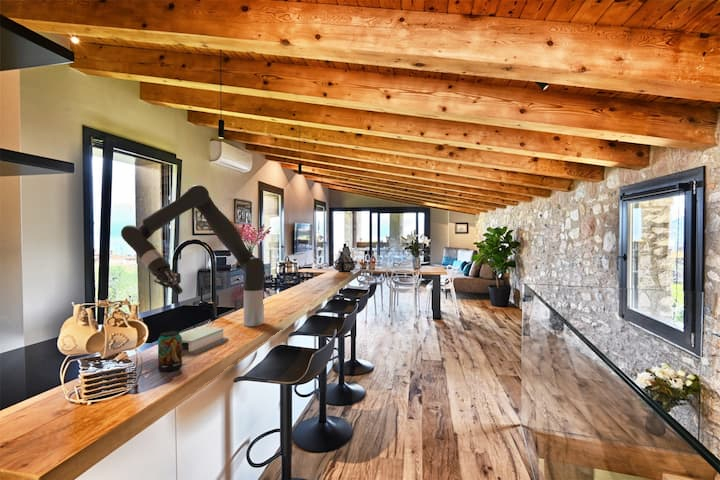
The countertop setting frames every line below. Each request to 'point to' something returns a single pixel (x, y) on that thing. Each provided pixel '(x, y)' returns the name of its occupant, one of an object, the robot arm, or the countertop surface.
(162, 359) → the beverage can
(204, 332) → the cover
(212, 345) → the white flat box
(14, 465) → the countertop surface
